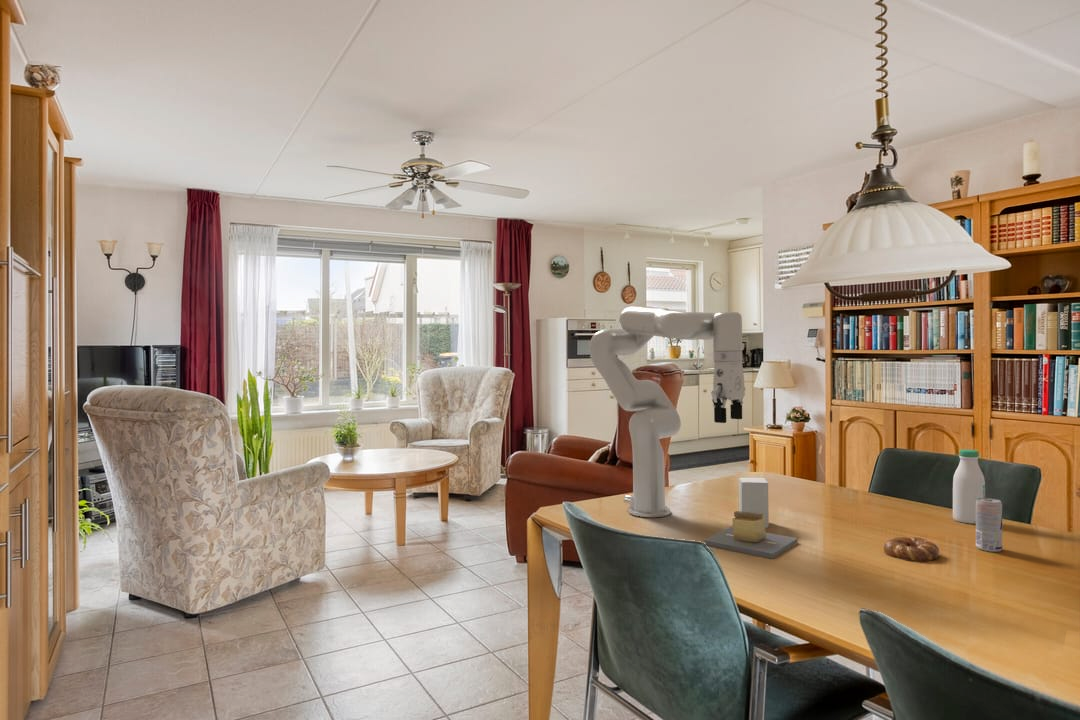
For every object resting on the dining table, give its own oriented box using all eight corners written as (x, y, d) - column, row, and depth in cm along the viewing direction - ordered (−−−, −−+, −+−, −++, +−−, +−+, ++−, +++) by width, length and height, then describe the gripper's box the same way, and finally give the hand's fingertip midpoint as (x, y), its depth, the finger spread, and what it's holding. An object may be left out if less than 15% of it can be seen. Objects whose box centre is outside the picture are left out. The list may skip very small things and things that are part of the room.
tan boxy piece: (767, 537, 170) (766, 511, 171) (758, 542, 166) (756, 516, 166) (741, 533, 175) (740, 509, 175) (731, 539, 171) (730, 513, 171)
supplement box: (769, 528, 184) (768, 482, 184) (741, 527, 186) (740, 482, 185) (765, 521, 191) (765, 477, 191) (738, 520, 193) (738, 476, 193)
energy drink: (1001, 547, 164) (1001, 499, 163) (1003, 553, 159) (1003, 503, 159) (975, 544, 166) (975, 496, 166) (976, 550, 162) (976, 501, 161)
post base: (703, 544, 170) (703, 524, 170) (731, 530, 182) (731, 511, 182) (772, 558, 158) (772, 537, 158) (797, 542, 170) (797, 522, 170)
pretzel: (891, 562, 156) (891, 546, 156) (877, 548, 166) (877, 533, 166) (947, 564, 153) (947, 548, 153) (930, 549, 164) (929, 534, 164)
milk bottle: (979, 526, 182) (979, 453, 182) (948, 520, 188) (948, 450, 188) (989, 521, 187) (989, 450, 186) (958, 515, 193) (958, 447, 192)
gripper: (726, 358, 171) (727, 425, 172) (754, 356, 184) (755, 418, 185) (699, 358, 176) (700, 423, 177) (729, 356, 189) (729, 416, 190)
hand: (728, 420), depth 181 cm, fingers open, 9 cm apart
